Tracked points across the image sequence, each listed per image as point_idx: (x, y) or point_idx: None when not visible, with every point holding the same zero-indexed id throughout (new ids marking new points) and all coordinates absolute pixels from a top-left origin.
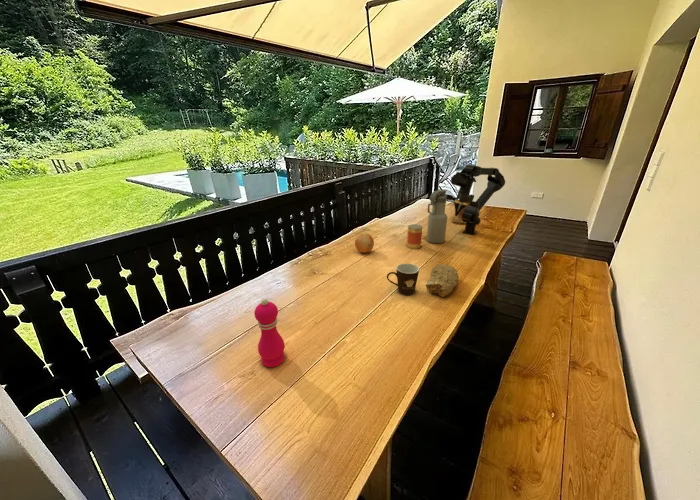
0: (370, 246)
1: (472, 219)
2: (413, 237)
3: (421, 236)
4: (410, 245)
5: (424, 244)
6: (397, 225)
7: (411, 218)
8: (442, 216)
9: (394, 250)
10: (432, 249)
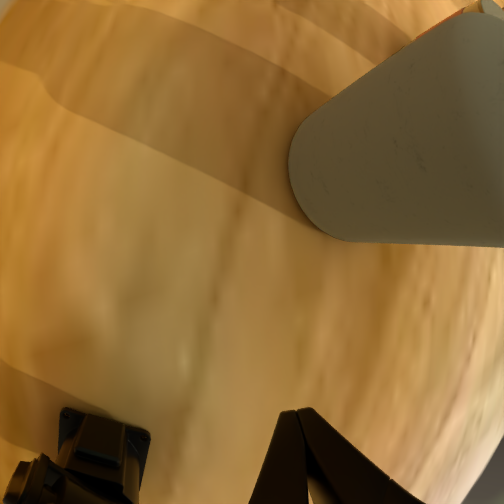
0: (502, 8)
1: (49, 490)
2: None
3: None
4: None
5: None
6: (497, 370)
7: (435, 492)
8: (490, 16)
9: None
10: (337, 29)
